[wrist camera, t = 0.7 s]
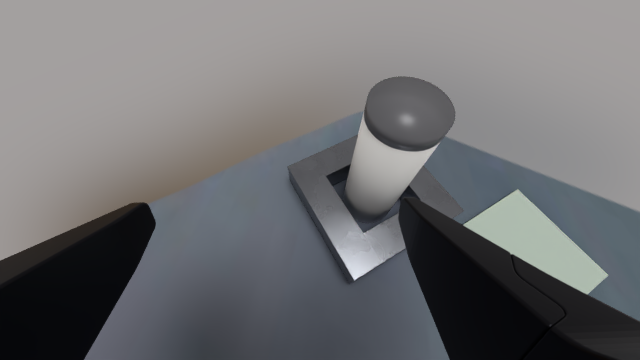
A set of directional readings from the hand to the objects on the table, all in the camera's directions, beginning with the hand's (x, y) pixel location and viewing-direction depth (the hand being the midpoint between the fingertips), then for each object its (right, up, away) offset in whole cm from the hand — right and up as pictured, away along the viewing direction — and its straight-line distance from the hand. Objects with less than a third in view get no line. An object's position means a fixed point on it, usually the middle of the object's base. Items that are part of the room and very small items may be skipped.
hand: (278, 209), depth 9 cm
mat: (+21, -6, +14) cm, 26 cm away
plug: (+6, -1, +17) cm, 18 cm away
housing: (+6, -1, +17) cm, 18 cm away
